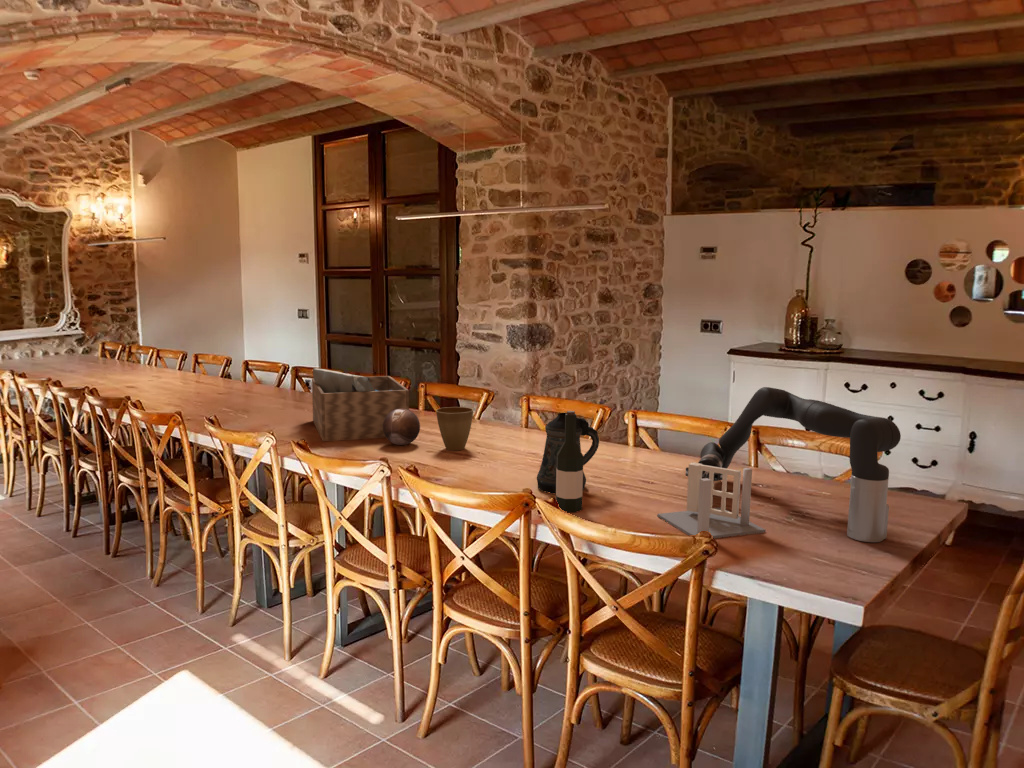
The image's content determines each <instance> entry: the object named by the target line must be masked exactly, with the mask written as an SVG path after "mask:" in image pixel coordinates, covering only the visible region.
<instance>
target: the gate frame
mask: <svg viewBox="0 0 1024 768" xmlns="http://www.w3.org/2000/svg"><path fill="white" fill-rule="evenodd" d="M752 479H753V469H752V468H749V467H743V469H742V488H741V506H740V515H738V518H737V519H734V518H730V517H725V516H720V515H715V514H710V499H711V480H710V479H708V478H704V479H700V483H699V504H698V512H692V511H687V510H683V511H682V510H681V511H673V512H672V511H671V512H663V513H657V516H658V517H657V518H659V517H660V518H659V519H661V520H662V519H663V520H662V521H664V520H665V521H664V522H666V523H667V522H668V524H669V525H670V526H672V527H674V528H676V529H677V530H679V531H680V532H681V533H684V534H686V535H687V536H689V535H696V534H698V533H699V532H701V531H708V532H710V533H711V535H712V536H713V538H714V539H721V538H722V537H723V538H729V536H731V537H738V536H737V535H740V536H747V535H746V534H748V535H755V533H756V534H764V533H763V532H765V533H766V529H765V528H764V527H762V526H759V525H757V524H755V523H754V522H752V521H750V514H751V501H752V499H751V497H752ZM712 509H717V510H721V506H720V507H712ZM725 511H727V512H731V511H729V510H727V509H725Z"/></svg>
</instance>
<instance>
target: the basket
mask: <svg viewBox="0 0 1024 768" xmlns="http://www.w3.org/2000/svg"><path fill="white" fill-rule="evenodd" d="M369 377H370V376H363V375H357V374H356V375H355V374H351V373H344V372H340V371H336V370H329V369H325V368H324V369H323V368H316V367H315V368H313V369H312V379H314V381H315V383H317V384H318V385H319V386H320V388H321V389H322V391H323V392H324V393H342V392H367V391H377V390H375V389H374V388H373V386H372V385H371V383H370V379H369ZM389 391H391V390H389Z"/></svg>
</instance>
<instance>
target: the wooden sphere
mask: <svg viewBox="0 0 1024 768" xmlns="http://www.w3.org/2000/svg"><path fill="white" fill-rule="evenodd" d="M420 430H421V423H420V420H419V417H418V416H417V414H415V412H414V411H412V410H410V409H409V410H408V409H403V408H400V409H395V410H393V411H391V412H390V413H389V414H388V415H387V416H386V418H385V420H384V423H383V431H384V434H385V436H386V437H385V438H386V439H387V440H388V441H389V442H390V443H392V444H393V445H397V446H405V445H409V444H411V443H412V442H414V441H415V440H416V439H417V437H418V436H419V434H420Z"/></svg>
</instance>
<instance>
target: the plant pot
mask: <svg viewBox="0 0 1024 768" xmlns="http://www.w3.org/2000/svg"><path fill="white" fill-rule="evenodd" d="M435 411H436V412H435V413H436V419H437V424H438V429H439V431H440V435H441V438H442V441H443V444H444V447H445V450H447V451H452V452H453V451H456V452H457V451H463V450H465V448H466V445H467V444H468V443H467V442H468V439H469V435H470V432H471V428H472V424H473V417H474V409H473V408H471V407H464V406H449V407H448V406H447V407H440V408H437V409H436V410H435Z"/></svg>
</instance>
